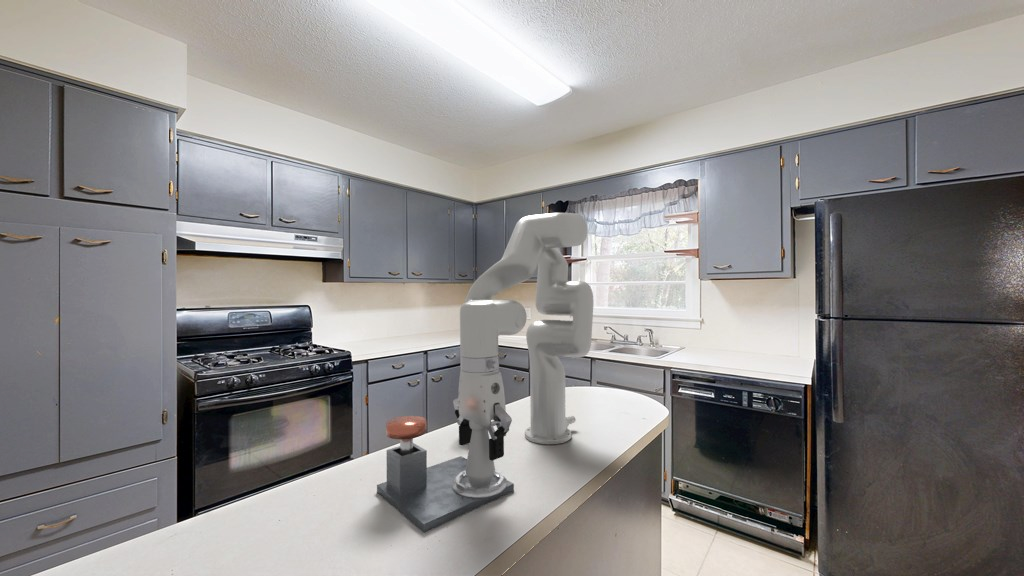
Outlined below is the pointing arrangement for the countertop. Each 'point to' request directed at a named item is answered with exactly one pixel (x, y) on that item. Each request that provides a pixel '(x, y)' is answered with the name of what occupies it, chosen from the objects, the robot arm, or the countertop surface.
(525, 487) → the countertop surface
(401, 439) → the disc
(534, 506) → the countertop surface
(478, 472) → the salt shaker
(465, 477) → the base
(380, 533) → the countertop surface
